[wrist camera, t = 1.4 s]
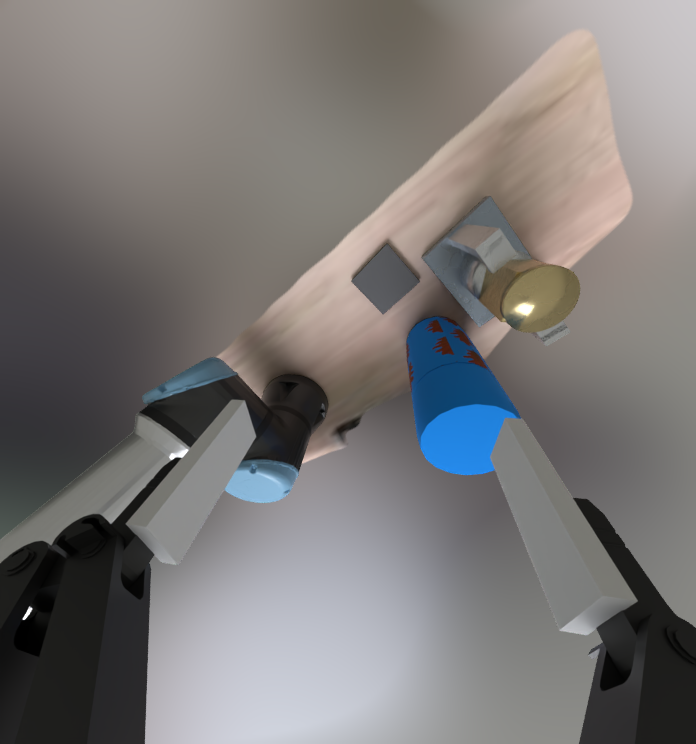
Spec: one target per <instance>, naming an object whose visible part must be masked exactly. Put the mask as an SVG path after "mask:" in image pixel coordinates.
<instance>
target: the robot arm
mask: <svg viewBox="0 0 696 744" xmlns="http://www.w3.org/2000/svg"><path fill="white" fill-rule="evenodd" d="M142 399H143V401H144V404H148V406H147V407H145V408H144V409H143V410H142V411H140V412H139V413H138V414H137V415H136V421H135V429H134V431H133V433H132V434H130V435H129V436H128V437H127V438H125V439H124V440H123V441H122V442H120V443H119V444H118V445H117V446H116V447H114V448H113V449H112V450H110V451H109V452H108V453H107V454H106V455H105V456H103V457H102V458H101V459H99V460H98V461H97V462H96V463H94V464H93V465H92V466H91V467H90V468H88V469H87V470H86V471H85V472H83V473H82V474H81V475H80V476H78V477H77V478H76V479H75V480H73V481H72V482H71V483H70V484H69V485H67V486H66V487H65V488H64V489H62V490H61V491H60V492H59V493H57V494H56V495H55V496H54V497H52V498H51V499H50V500H49V501H48V502H46V503H45V504H44V505H43V506H41V507H40V508H39V509H38V510H37V511H35V512H34V513H33V514H32V515H30V516H29V517H28V518H27V519H25V520H24V521H23V522H22V523H20V524H19V525H18V526H17V527H16V528H14V529H13V530H12V531H10V532H9V533H8V534H7V535H6V536H4V537H3V538H2V539H1V540H0V744H145V720H146V691H147V663H148V635H149V634H148V633H149V607H150V578H151V568H150V564H149V562H150V560H151V559H152V558H153V556H154V555H155V556H156V557H157V559H158V560H159V561H160V562H163V563H169V564H174V565H179V564H180V562H181V561H182V559H183V557H184V556H185V554H186V552H187V551H188V549H189V547H190V546H191V544H192V542H193V541H194V539H195V537H196V535H197V534H198V532H199V530H200V529H201V527H202V526H203V524H204V522H205V521H206V519H207V517H208V516H209V514H210V512H211V511H212V509H213V508H214V506H215V504H216V502H217V501H218V499H219V498H220V496H221V494H222V493H223V491H224V490H225V491H226V492H228V493H229V494H231V495H233V496H235V497H237V498H240V499H243V500H246V501H250V502H257V503H269V502H274V501H278V500H280V499H282V498H284V497H285V496H287V495H288V494H289V492H290V491H291V489H292V486H293V484H294V482H295V480H296V478H297V477H298V474H299V470H300V467H301V464H302V461H303V458H304V455H305V452H306V448H307V445H308V442H309V439H310V437H311V435H312V434H313V433H314V431H315V430H316V429H317V428H318V427H319V426H320V425H321V424H322V422H323V421H324V419H325V417H326V413H327V410H328V401H327V398H326V395H325V393H324V392H323V390H322V389H321V388H320V387H319V386H318V385H317V384H316V383H314V382H313V381H311V380H309V379H307V378H305V377H302V376H299V375H282V376H279V377H277V378H275V379H273V380H272V381H271V382H270V383H269V384H268V386H267V387H266V389H265V390H264V392H263V395H262V400H261V399H260V398H259V397H258V396H257V395H256V394H255V393H254V392H253V391H252V390H251V388H250V387H249V386H248V385H247V384H246V383H245V382H244V381H243V380H242V379H241V378H240V377H239V376H238V373H237V372H234V371H233V370H232V369H231V368H230V367H229V366H228V365H227V364H226V363H225V362H224V361H222V360H221V359H219V358H215V357H211V358H207V359H205V360H203V361H201V362H200V363H198V364H196V365H194V366H192V367H191V368H189V369H187V370H185V371H184V372H182V373H180V374H178V375H177V376H175V377H173V378H171V379H170V380H168V381H167V382H165V383H163V384H161V385H160V386H158V387H156V388H154V389H153V390H151V391H149V392H147V393H146V394H144V395H143V397H142ZM490 459H491V461H492V464H493V466H494V469H495V471H496V474H497V476H498V479H499V481H500V483H501V486H502V489H503V491H504V493H505V496H506V498H507V501H508V503H509V506H510V509H511V511H512V514H513V516H514V519H515V521H516V524H517V526H518V529H519V531H520V534H521V536H522V539H523V541H524V544H525V546H526V549H527V551H528V554H529V556H530V559H531V561H532V563H533V566H534V569H535V571H536V573H537V576H538V579H539V581H540V584H541V586H542V589H543V591H544V594H545V596H546V598H547V601H548V604H549V606H550V609H551V611H552V614H553V616H554V619H555V621H556V624H557V626H558V629H559V630H560V631H565V632H571V633H577V634H583V635H588V634H589V633H591V632H592V631H594V630H595V629H597V631H598V633H599V635H600V637H601V639H602V641H603V643H601V644H600V645H598V646H596V647H595V648H593V649H591V651H590V652H589V654H588V656H589V657H590V658H592V659H594V658H595V657H597V656H598V659H597V663H596V668H595V673H594V677H593V682H592V687H591V691H590V696H589V700H588V705H587V710H586V714H585V719H584V723H583V728H582V733H581V737H580V742H579V744H696V628H695V627H694V626H693V625H691V624H690V623H689V622H687V621H685V620H683V619H681V618H679V617H678V616H676V614H675V613H674V612H673V611H672V610H671V609H670V607H669V606H668V605H667V604H666V602H665V601H664V599H663V598H662V597H661V595H660V594H659V592H658V591H657V590H656V588H655V587H654V585H653V584H652V582H651V581H650V579H649V578H648V577H647V575H646V574H645V572H644V571H643V569H642V568H641V567H640V565H639V564H638V562H637V561H636V560H635V558H634V557H633V555H632V554H631V552H630V551H629V549H628V548H626V547H625V544H624V542H623V541H622V539H621V538H620V537H619V535H618V534H616V533H615V529H614V528H613V527H612V525H611V524H610V522H609V521H608V519H607V518H606V517H605V515H604V514H603V513H602V512H601V511H600V510H599V509H598V508H596V507H595V506H594V505H593V504H592V503H591V502H590V501H589V500H587V499H579V498H572V496H571V494H570V493H569V491H568V490H567V488H566V487H565V485H564V483H563V482H562V480H561V479H560V477H559V476H558V474H557V472H556V471H555V469H554V468H553V466H552V464H551V463H550V461H549V460H548V458H547V456H546V455H545V453H544V452H543V450H542V449H541V447H540V445H539V444H538V442H537V441H536V439H535V437H534V436H533V434H532V433H531V431H530V430H529V428H528V426H527V425H526V423H525V422H524V420H523V419H516V418H505V419H504V422H503V425H502V427H501V430H500V432H499V435H498V438H497V440H496V443H495V446H494V448H493V451H492V453H491V456H490Z"/></svg>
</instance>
